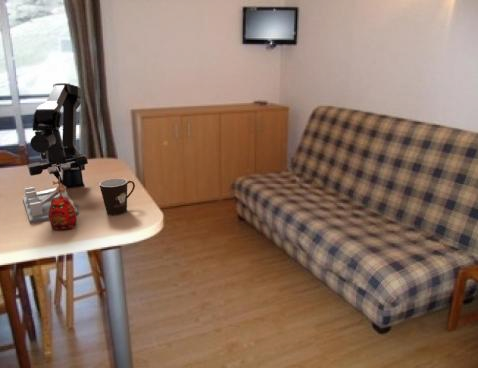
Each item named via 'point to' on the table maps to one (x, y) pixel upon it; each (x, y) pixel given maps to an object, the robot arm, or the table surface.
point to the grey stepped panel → (35, 208)
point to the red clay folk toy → (61, 212)
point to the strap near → (52, 195)
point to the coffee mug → (115, 195)
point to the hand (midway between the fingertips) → (63, 187)
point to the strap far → (46, 192)
